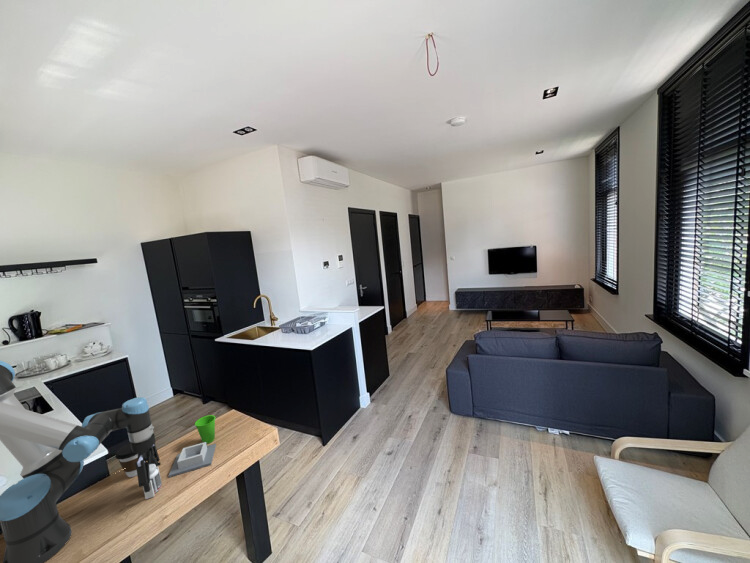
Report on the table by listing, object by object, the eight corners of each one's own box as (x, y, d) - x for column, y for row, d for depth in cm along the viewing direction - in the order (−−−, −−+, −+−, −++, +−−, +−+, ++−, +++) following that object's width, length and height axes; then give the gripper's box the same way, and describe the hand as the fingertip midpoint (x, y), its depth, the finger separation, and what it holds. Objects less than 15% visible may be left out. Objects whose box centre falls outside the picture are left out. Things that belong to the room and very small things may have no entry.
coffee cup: (154, 469, 132) (149, 444, 130) (123, 486, 124) (116, 459, 122) (148, 459, 139) (143, 435, 138) (118, 474, 131) (112, 449, 130)
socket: (168, 477, 126) (166, 468, 126) (177, 456, 139) (176, 447, 139) (211, 465, 131) (209, 455, 131) (216, 445, 145) (214, 437, 144)
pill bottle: (157, 482, 124) (152, 461, 123) (165, 486, 122) (160, 464, 120) (141, 493, 119) (136, 471, 118) (149, 498, 116) (144, 475, 115)
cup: (195, 443, 148) (191, 422, 146) (213, 432, 155) (209, 413, 154) (204, 449, 143) (200, 428, 141) (222, 438, 150) (219, 417, 148)
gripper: (143, 450, 109) (156, 506, 112) (161, 420, 128) (171, 469, 131) (118, 457, 106) (132, 513, 110) (140, 426, 125) (151, 475, 128)
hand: (153, 489), depth 120 cm, fingers open, 7 cm apart
